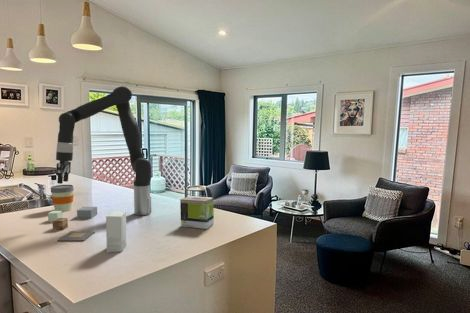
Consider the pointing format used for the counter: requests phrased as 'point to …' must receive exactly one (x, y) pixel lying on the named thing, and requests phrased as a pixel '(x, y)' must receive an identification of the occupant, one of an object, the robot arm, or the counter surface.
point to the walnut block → (60, 223)
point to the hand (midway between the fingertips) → (62, 182)
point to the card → (77, 236)
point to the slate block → (86, 212)
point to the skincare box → (116, 231)
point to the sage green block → (54, 215)
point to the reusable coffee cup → (62, 197)
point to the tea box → (197, 212)
